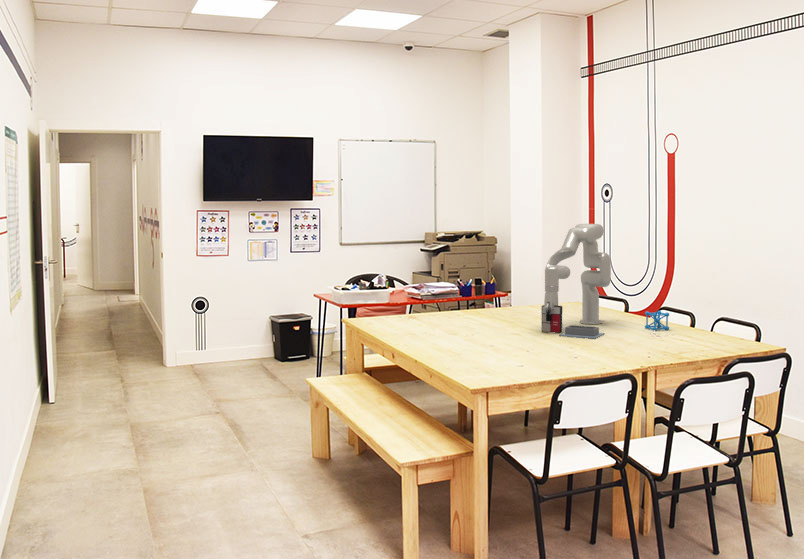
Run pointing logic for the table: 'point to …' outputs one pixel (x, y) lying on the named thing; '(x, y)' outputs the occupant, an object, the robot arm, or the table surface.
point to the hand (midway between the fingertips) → (551, 320)
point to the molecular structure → (657, 320)
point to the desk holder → (582, 332)
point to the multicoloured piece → (556, 320)
